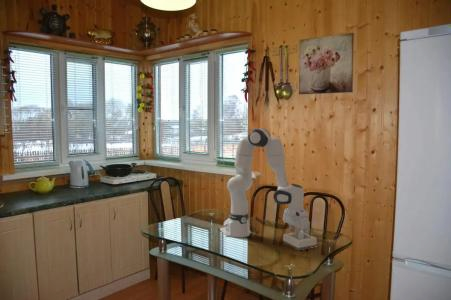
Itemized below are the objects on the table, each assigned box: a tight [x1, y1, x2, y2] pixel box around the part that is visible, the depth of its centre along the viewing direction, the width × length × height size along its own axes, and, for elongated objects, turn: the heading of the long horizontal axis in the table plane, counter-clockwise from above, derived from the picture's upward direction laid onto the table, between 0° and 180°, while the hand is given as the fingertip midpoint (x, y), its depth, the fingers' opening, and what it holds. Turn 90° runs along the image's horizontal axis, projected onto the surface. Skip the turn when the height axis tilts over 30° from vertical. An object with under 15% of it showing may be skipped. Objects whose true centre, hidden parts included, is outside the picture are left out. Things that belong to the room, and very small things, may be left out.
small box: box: [293, 221, 311, 235], centre depth 223 cm, size 8×6×10 cm
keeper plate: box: [283, 232, 319, 251], centre depth 206 cm, size 14×14×8 cm
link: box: [282, 232, 318, 248], centre depth 207 cm, size 14×14×4 cm
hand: (294, 232), depth 211 cm, fingers open, 4 cm apart
